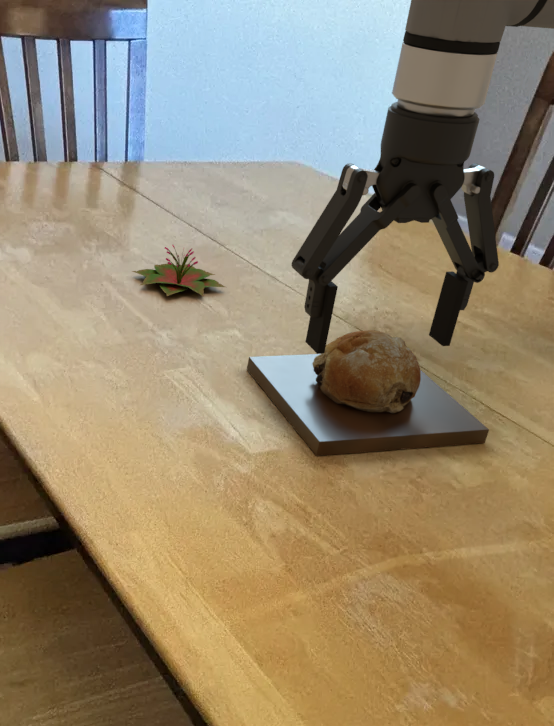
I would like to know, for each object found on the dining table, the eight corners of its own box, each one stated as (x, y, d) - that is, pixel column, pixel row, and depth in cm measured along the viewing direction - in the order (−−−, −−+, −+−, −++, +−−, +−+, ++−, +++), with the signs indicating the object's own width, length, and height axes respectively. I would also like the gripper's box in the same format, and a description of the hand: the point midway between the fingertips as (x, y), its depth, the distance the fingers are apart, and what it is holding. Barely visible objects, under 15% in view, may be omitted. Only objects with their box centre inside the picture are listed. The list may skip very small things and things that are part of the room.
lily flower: (242, 295, 111) (247, 259, 109) (162, 306, 106) (166, 269, 103) (191, 264, 119) (195, 230, 117) (115, 273, 114) (117, 238, 111)
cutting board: (395, 362, 98) (398, 350, 97) (484, 443, 85) (489, 429, 84) (246, 369, 94) (248, 356, 93) (316, 456, 80) (319, 441, 79)
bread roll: (354, 450, 85) (403, 397, 79) (285, 376, 88) (328, 318, 81) (404, 419, 92) (453, 368, 86) (338, 350, 94) (382, 295, 88)
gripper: (534, 99, 79) (467, 322, 91) (279, 93, 72) (245, 334, 85) (589, 118, 73) (509, 353, 86) (317, 113, 67) (274, 368, 79)
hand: (378, 344), depth 85 cm, fingers open, 13 cm apart
